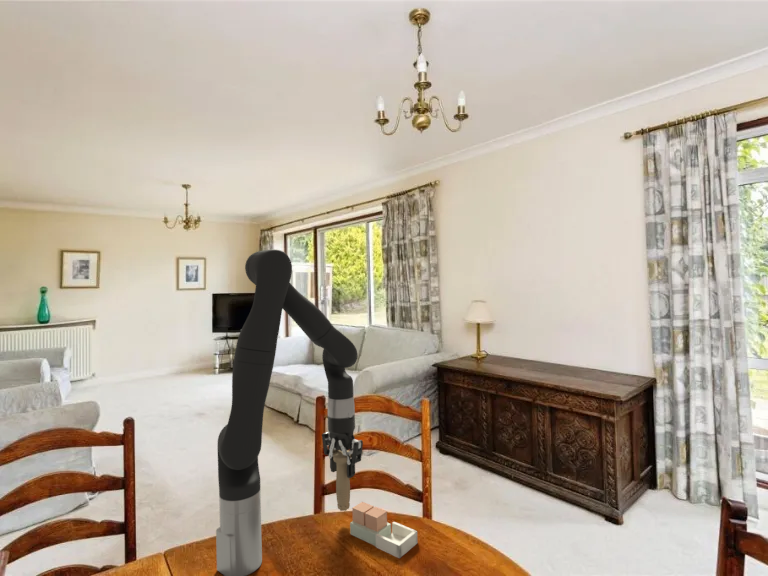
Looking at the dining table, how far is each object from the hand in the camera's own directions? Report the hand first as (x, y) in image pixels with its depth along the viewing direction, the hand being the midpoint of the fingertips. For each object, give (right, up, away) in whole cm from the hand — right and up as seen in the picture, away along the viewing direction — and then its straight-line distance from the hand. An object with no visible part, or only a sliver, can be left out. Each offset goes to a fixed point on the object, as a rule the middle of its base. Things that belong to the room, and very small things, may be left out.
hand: (342, 473), depth 115 cm
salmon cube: (+10, -10, -8) cm, 16 cm away
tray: (+15, -13, -11) cm, 23 cm away
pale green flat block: (+8, -13, -6) cm, 17 cm away
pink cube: (+6, -10, -5) cm, 13 cm away
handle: (0, -10, 0) cm, 10 cm away
